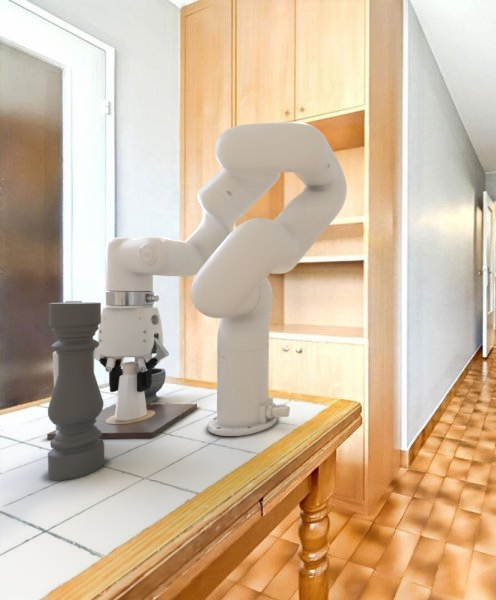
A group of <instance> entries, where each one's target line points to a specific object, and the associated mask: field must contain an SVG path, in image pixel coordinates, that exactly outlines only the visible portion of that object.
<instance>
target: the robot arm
mask: <svg viewBox="0 0 496 600" xmlns="http://www.w3.org/2000/svg"><path fill="white" fill-rule="evenodd" d="M213 148H214V156H215V159H216V160H217V163H218V164H219V165H220V166H221V168H220V169H219V170H218V171H217V172H215V174H213V176H212V177H211V178H210V179H209V180H208V181H207V182H206V183H205V184H204V185H203V186H201V187H200V188H199V190H198V191H197V193H196V195H197V196H196V197H197V201H198V203H199V204H200V206H201V210H202V218H201V221H200V224H199V225H198V227H197V228H196V230H194V232H192V234H190V235H189V236H188V237H187V238H186V239H185V240H184V241H183V240H179V239H173V238H168V237H164V236H156V235H155V236H145V237H139V238H138V237H137V238H132V237H113V238H110V239H108V240H107V241H106V243H105V306H104V307H102V309H101V324H99V325H98V327H99V329H98V334H97V341H98V342H99V346H98V347H97V348H95V351H94V360H96V361H97V362H99V363H100V365H102V366H103V367H104V368H105V369H104V370H105V372H107V373H108V385H109V392H110V393H115V392H118V384H119V377H120V376H121V375H123V367H122V364H123V363H124V359H125V358H135V357H137V360H138V364H139V368H140V372H138V373H137V391H138V392H142V391H145V390H147V389H149V388H150V387H151V384H152V369H154V368H156V366H157V365H158V364H159V363H160V362H161V361H163V360H165V359H166V358H167V357H169V356H170V353H169V351H168V350H167V349H166V347H165V345H164V336H163V335H164V334H163V326H162V319H161V315H160V311H159V308H158V306H154V303H155V302H157V303H158V302H159V301H160V296H159V294H155V293H154V276H161V277H181V278H189V277H193V280H192V283H191V286H190V299H191V301H192V304H193V307H194V308H195V309H196V310H197V311H198V312H199V313H201V314H202V315H204V316H206V317H208V318H213V319H219V324H218V329H217V339H216V415H215V416H214V417H212V418H211V419H210V420H209V421H208V422H207V430H208V431H209V433H211V434H213V435H216V436H221V437H239V436H246V435H252V434H256V433H259V432H261V431H265V430H267V429H269V428H270V427H272V426H274V424H276V422H277V417H279V418H288V417H289V416H290V408H291V407H290V406H287V404H286V403H280V404H276V403H275V402H274V397H271V396H269V395H270V394H269V391H270V390H269V387H270V385H269V384H270V381H269V380H270V373H269V372H270V369H269V368H270V325H271V324H270V323H271V315H272V310H273V309H272V308H273V302H274V301H273V300H274V293H273V288H272V285H271V282H270V280H269V278H268V277H269V276H270V274H273V275H282V274H286V273H289V272H290V271H292V270H294V268H296V266H298V264H299V262H300V261H301V260H302V258H303V257H304V256H305V255H306V254H307V252H308V251H309V250H310V249H311V248H312V247H313V245H315V243H316V242H317V241H318V239H319V238H320V237H321V235H322V234H323V233H324V232H325V230H327V228H328V227H329V226H330V225H331V224H332V223H333V221H334V220H335V219H336V218H337V216H339V214H340V212H341V211H342V209H343V207H344V205H345V201H346V198H347V189H348V188H347V187H348V186H347V181H346V177H345V173H344V171H343V168H342V166H341V164H340V162H339V159H338V158H337V156H336V154H335V152H334V151H333V149H332V147H331V145H330V143H329V141H328V139H327V138H326V136H325V135H324V133H323V132H322V131H321V130H320V129H318V128H317V127H316V126H314V125H312V124H309V123H306V122H300V121H288V122H287V121H286V122H283V121H282V122H265V123H264V122H263V123H261V122H260V123H247V124H239V125H235V126H232V127H229V128H227V129H225V130H224V131H223V132H221V133H220V134H219V136H218V137H217V138H216V141H215V144H214V147H213ZM282 173H293V174H294V175H295V176H296V177H297V178H298V179H299V180H300V181H301V182H302V183H303V185H304V189H303V190H302V192H300V193H298V194H297V195H296V196H295V197H294V198H292V199H291V200H290V201H289V202H288V203H287V204H286V205H285V207H284V208H283V209H282V210H281V212H280V213H279V214H278V215H277V216H276V217H275V218H273V219H269V218H265V217H254V218H250V219H248V220H247V219H246V220H244V221H243V222H242V223H240V224H239V225H237V226H236V227H235V225H236V223H237V222H238V221H239V220H240V219H242V217H243V216H244V215H245V214H246V213H247V212H248V211H249V210H251V208H252V207H253V206H254V205H255V204H256V203H257V202H259V200H261V198H262V197H263V196H264V195H265V194H266V193H267V192H269V190H270V189H272V187H274V186H275V184H276V183H277V182H278V181H279V180H280V178H281V175H282ZM234 227H235V228H234ZM155 354H156V355H155ZM153 355H154V356H153Z"/></svg>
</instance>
